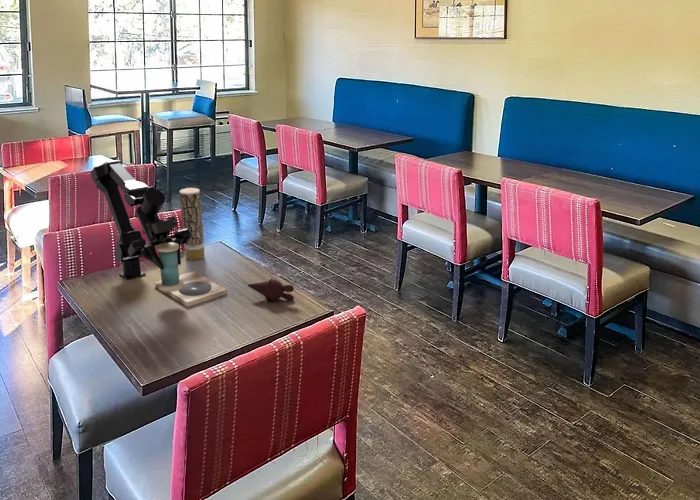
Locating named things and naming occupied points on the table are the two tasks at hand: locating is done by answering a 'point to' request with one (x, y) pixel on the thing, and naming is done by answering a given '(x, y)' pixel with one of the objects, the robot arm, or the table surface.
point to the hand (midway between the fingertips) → (171, 266)
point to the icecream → (273, 290)
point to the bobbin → (169, 267)
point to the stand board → (195, 289)
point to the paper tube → (192, 222)
